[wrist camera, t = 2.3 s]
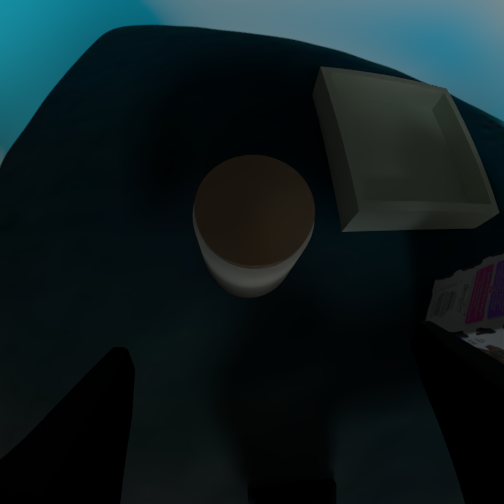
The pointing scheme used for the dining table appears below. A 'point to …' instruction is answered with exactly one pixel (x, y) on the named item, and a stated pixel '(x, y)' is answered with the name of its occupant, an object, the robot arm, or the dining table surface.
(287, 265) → the jar
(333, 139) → the bin
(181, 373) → the dining table surface
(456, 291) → the candy box
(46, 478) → the robot arm
